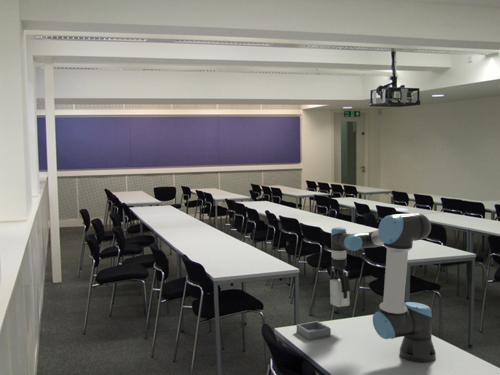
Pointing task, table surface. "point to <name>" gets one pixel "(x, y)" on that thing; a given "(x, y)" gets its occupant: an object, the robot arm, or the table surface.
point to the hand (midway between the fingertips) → (339, 302)
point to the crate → (313, 330)
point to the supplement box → (337, 293)
